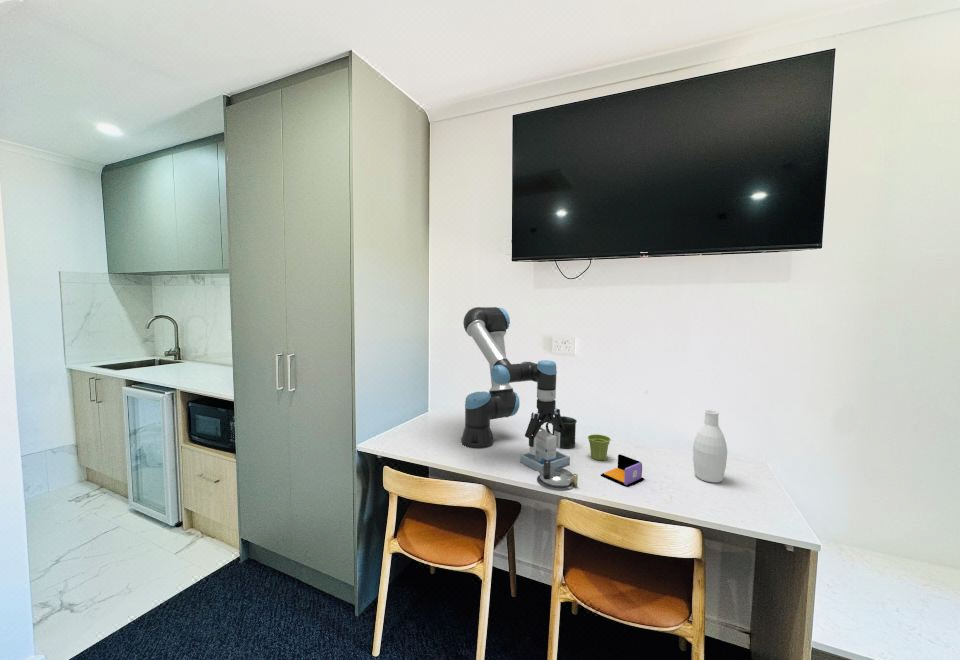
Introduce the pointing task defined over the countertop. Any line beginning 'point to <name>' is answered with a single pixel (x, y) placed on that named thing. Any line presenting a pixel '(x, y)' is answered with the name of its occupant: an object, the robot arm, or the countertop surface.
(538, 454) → the ink box
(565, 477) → the crank
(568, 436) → the mug
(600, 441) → the plant pot
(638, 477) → the miniature room corner
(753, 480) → the countertop surface
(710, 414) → the bottle
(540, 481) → the crank base
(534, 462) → the tray
